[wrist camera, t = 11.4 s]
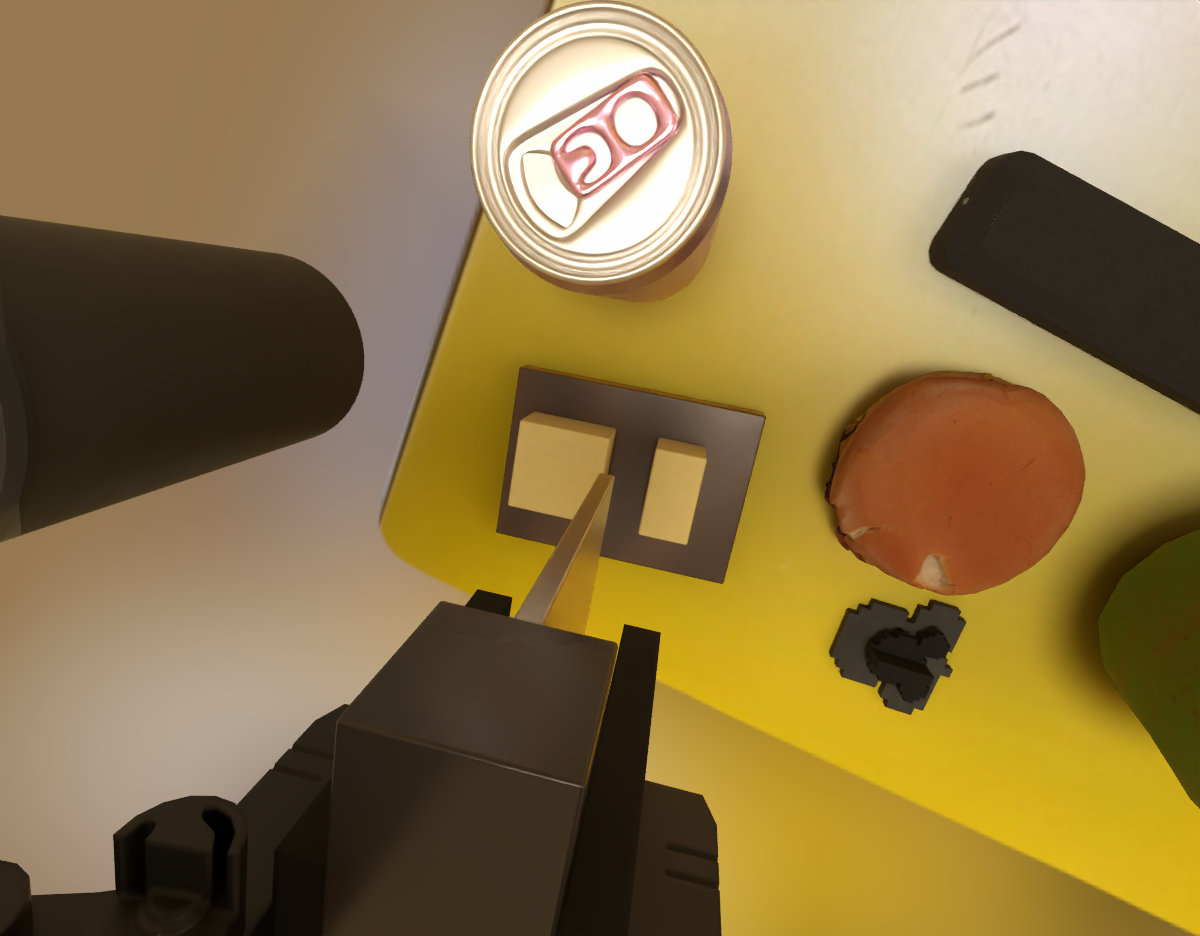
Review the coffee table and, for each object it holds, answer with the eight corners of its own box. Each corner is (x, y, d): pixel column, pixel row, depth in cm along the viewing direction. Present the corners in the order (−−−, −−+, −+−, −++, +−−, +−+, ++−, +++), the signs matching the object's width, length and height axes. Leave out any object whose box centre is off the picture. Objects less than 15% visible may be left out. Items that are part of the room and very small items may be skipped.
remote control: (1309, 325, 25) (993, 145, 25) (1355, 327, 24) (1017, 134, 23) (1219, 428, 27) (918, 260, 26) (1257, 437, 25) (936, 257, 25)
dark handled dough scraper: (560, 463, 15) (333, 720, 6) (655, 483, 15) (585, 785, 5) (520, 702, 17) (300, 1198, 8) (604, 723, 17) (487, 1262, 7)
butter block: (521, 490, 30) (507, 505, 28) (534, 410, 29) (519, 419, 27) (601, 508, 30) (593, 525, 27) (616, 428, 29) (609, 438, 26)
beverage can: (737, 252, 27) (789, 187, 13) (624, 327, 29) (556, 344, 14) (666, 130, 26) (637, -84, 12) (554, 214, 28) (407, 111, 14)
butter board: (502, 525, 32) (495, 532, 31) (525, 364, 30) (519, 366, 29) (722, 574, 31) (723, 584, 30) (763, 412, 29) (766, 416, 28)
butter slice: (642, 516, 30) (637, 534, 27) (658, 436, 29) (655, 448, 26) (687, 526, 29) (686, 545, 27) (706, 446, 28) (707, 459, 26)
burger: (1055, 358, 26) (1128, 369, 22) (1038, 561, 29) (1101, 608, 24) (814, 376, 28) (837, 389, 24) (816, 566, 30) (837, 611, 26)
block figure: (874, 599, 28) (998, 637, 27) (861, 578, 30) (975, 613, 30) (826, 709, 29) (942, 746, 29) (817, 680, 32) (924, 714, 31)
